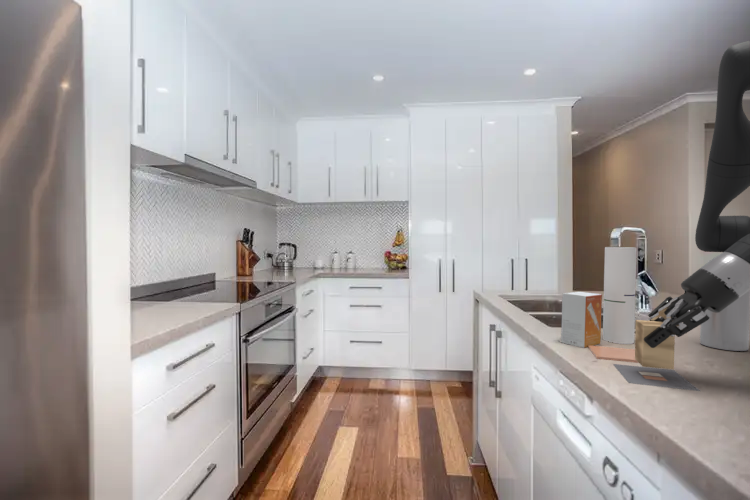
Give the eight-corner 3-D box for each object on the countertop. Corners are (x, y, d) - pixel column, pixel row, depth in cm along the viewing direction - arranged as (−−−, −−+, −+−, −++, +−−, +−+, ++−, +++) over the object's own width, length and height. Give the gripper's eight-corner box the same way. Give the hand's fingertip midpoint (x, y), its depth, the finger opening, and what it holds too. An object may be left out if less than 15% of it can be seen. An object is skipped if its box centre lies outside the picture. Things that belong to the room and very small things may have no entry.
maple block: (634, 358, 79) (635, 319, 79) (663, 361, 77) (664, 321, 77) (642, 366, 74) (643, 325, 74) (673, 369, 73) (675, 327, 72)
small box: (584, 348, 96) (585, 296, 95) (560, 342, 101) (561, 293, 101) (601, 344, 100) (602, 293, 100) (577, 338, 105) (578, 291, 105)
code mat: (612, 364, 83) (612, 363, 83) (673, 370, 80) (673, 369, 80) (628, 383, 72) (628, 382, 72) (700, 391, 68) (700, 390, 68)
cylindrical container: (640, 344, 100) (643, 247, 100) (612, 343, 100) (615, 247, 100) (623, 337, 107) (625, 247, 107) (597, 337, 107) (599, 247, 107)
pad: (588, 347, 96) (588, 345, 96) (634, 351, 93) (635, 349, 93) (596, 359, 87) (596, 356, 87) (648, 364, 84) (649, 361, 84)
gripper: (686, 264, 80) (617, 318, 84) (722, 270, 66) (638, 334, 70) (717, 291, 78) (646, 345, 82) (761, 303, 64) (673, 366, 69)
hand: (643, 340), depth 76 cm, fingers closed on maple block, 5 cm apart
